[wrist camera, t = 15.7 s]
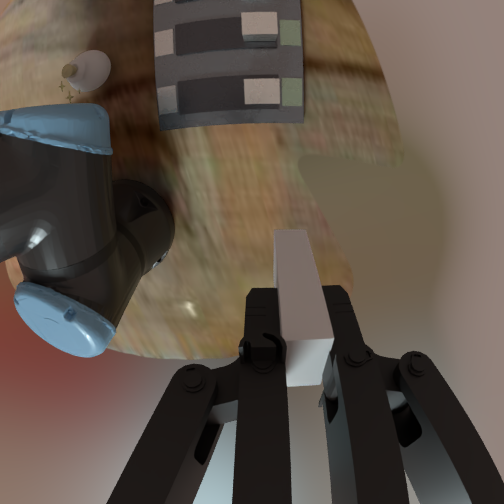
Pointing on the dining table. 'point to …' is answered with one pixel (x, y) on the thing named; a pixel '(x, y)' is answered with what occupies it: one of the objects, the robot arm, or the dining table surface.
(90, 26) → the dining table surface
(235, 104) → the panel
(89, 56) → the ornament
